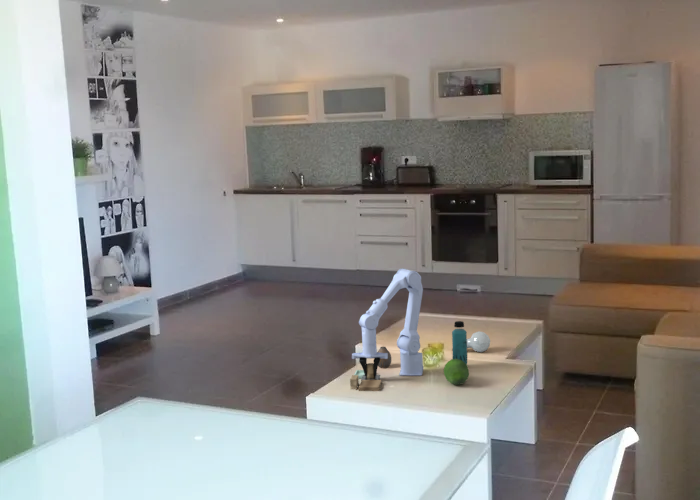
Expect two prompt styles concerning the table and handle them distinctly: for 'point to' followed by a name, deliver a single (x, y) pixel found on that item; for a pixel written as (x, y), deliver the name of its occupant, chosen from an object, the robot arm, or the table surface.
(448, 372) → the fruit
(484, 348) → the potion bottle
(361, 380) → the collar
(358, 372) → the tray
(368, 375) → the dowel
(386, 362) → the vase
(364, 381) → the board
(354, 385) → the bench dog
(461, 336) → the beverage bottle
